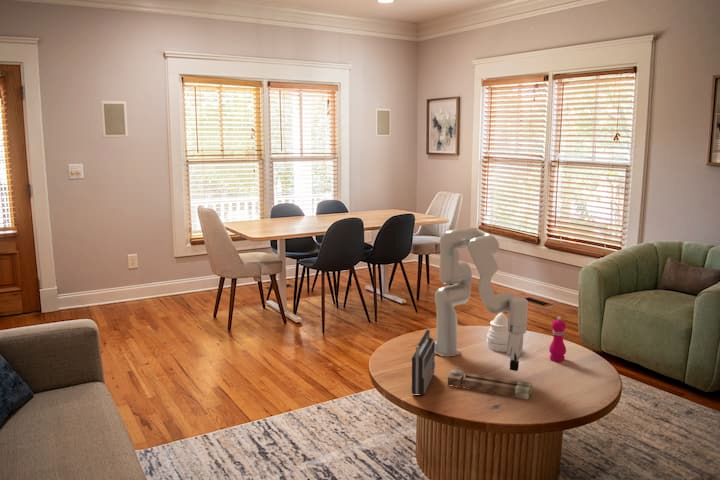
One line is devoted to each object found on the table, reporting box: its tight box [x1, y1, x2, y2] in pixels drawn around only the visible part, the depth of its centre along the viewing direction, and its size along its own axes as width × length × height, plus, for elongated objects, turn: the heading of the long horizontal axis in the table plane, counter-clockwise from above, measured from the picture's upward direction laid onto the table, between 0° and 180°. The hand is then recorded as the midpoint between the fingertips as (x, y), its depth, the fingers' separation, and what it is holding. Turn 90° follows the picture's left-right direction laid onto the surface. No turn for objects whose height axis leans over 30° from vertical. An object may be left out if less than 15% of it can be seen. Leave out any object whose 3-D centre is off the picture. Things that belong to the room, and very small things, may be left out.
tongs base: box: [447, 369, 531, 400], centre depth 242 cm, size 32×8×4 cm, turn 64°
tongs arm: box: [464, 372, 533, 395], centre depth 242 cm, size 26×3×4 cm, turn 64°
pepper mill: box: [548, 316, 567, 363], centre depth 270 cm, size 7×7×20 cm
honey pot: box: [486, 312, 509, 352], centre depth 287 cm, size 13×13×18 cm
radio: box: [411, 328, 436, 396], centre depth 245 cm, size 24×5×20 cm, turn 163°
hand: (513, 369), depth 249 cm, fingers closed
